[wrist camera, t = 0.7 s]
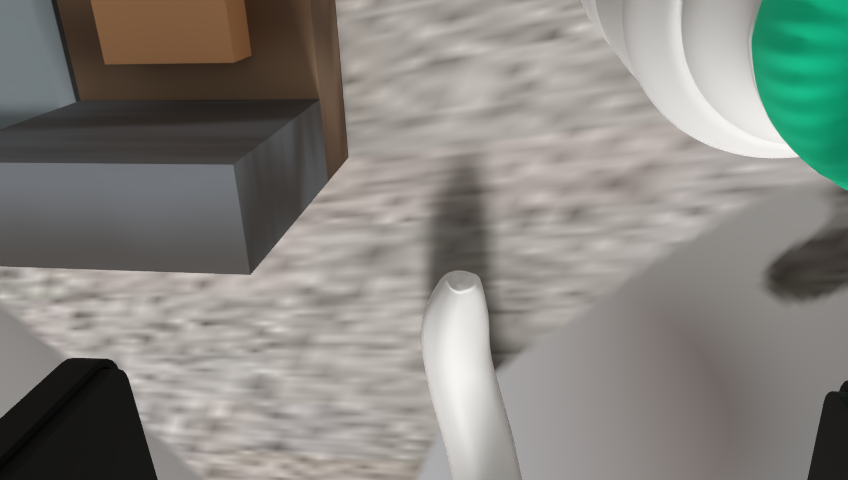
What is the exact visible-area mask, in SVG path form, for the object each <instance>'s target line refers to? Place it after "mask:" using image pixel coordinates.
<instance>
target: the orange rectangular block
mask: <svg viewBox="0 0 848 480" xmlns="http://www.w3.org/2000/svg"><path fill="white" fill-rule="evenodd" d="M91 4H92V9H93V13H94V18H95V22H96V27H97V31H98V36H99V40H100V45H101V49H102V54H103V58H104V63H105V65H107V64H177V63H235V62H237V61H239V60H242V59H244V58H247V57H249V56H252V54H251V47H250V39H249V32H248V24H247V17H246V10H245V2H244V0H91Z"/></svg>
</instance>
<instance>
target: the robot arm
mask: <svg viewBox="0 0 848 480" xmlns="http://www.w3.org/2000/svg"><path fill="white" fill-rule="evenodd" d="M0 480H157V476H156V473H155V469H154V466H153V462H152V459H151V455H150V452H149V448H148V445H147V442H146V438H145V435H144V431H143V428H142V424H141V421H140V417H139V414H138V410H137V407H136V404H135V400H134V397H133V393H132V390H131V386H130V383H129V379H128V377H127V375H126V373H125V372H124V371H123V370H120V369H118V367H117V365H116V364H115V363H114V362H113V361H112V360H109V359H94V358H71V359H67V360H65V361H64V362H62V363H61V364H60V365H59V366H58V367H57V368H55V369H54V370H53V371H52V372H51V373H50V374H49V375H48V376H47V377H46V378H44V379H43V380H42V381H41V382H40V383H39V384H38V385H37V386H36V387H35V388H33V389H32V390H31V391H30V392H29V393H28V394H27V395H26V396H25V397H24V398H22V399H21V400H20V401H19V402H18V403H17V404H16V405H15V406H14V407H12V408H11V409H10V410H9V411H8V412H7V413H6V414H5V415H4V416H3V417H1V418H0ZM807 480H848V381H845V382H844V383H843V385H842V386H841V388H840V391H839V392H835V391H834V392H833V391H832V392H829V393H828V394H827V395H826V397H825V400H824V404H823V409H822V413H821V418H820V423H819V427H818V432H817V437H816V442H815V446H814V451H813V456H812V461H811V466H810V470H809V475H808V479H807Z"/></svg>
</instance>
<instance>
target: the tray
mask: <svg viewBox="0 0 848 480" xmlns="http://www.w3.org/2000/svg"><path fill="white" fill-rule="evenodd" d="M78 101H81V99H80V95H79V91H78V87H77V83H76V78H75V74H74V70H73V66H72V62H71V58H70V54H69V49H68V45H67V41H66V37H65V33H64V29H63V24H62V20H61V16H60V12H59V8H58V4H57V0H0V129H2V128H5V127H8V126H11V125H14V124H16V123H19V122H22V121H25V120H28V119H30V118H33V117H36V116H39V115H42V114H44V113H47V112H50V111H53V110H56V109H58V108H61V107H64V106H67V105H70V104H72V103H75V102H78Z"/></svg>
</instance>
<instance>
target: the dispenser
mask: <svg viewBox="0 0 848 480" xmlns="http://www.w3.org/2000/svg"><path fill="white" fill-rule="evenodd" d="M244 2H245V10H246V17H247V24H248V32H249V39H250V47H251V54H252V56H249V57H247V58H244V59H242V60H239V61H237V62H235V63H177V64H107V65H105V63H104V58H103V54H102V49H101V45H100V40H99V36H98V31H97V27H96V22H95V18H94V13H93V9H92V4H91V0H57V4H58V8H59V12H60V16H61V20H62V24H63V29H64V33H65V37H66V41H67V45H68V49H69V54H70V58H71V62H72V66H73V70H74V74H75V78H76V83H77V87H78V91H79V95H80V99H81V101H78V102H75V103H72V104H70V105H67V106H64V107H61V108H58V109H56V110H53V111H50V112H47V113H44V114H42V115H39V116H36V117H33V118H30V119H28V120H25V121H22V122H19V123H16V124H14V125H11V126H8V127H5V128H2V129H0V266H7V267H37V268H67V269H96V270H126V271H156V272H185V273H215V274H245V275H251V273H252V272H253V271H254V270H255V269H256V267H257V266H258V265H259V264H260V263H261V261H262V260H263V259H264V258H265V257H266V255H267V254H268V253H269V252H270V251H271V249H272V248H273V247H274V246H275V245H276V243H277V242H278V241H279V240H280V239H281V237H282V236H283V235H284V234H285V233H286V231H287V230H288V229H289V228H290V227H291V225H292V224H293V223H294V222H295V221H296V219H297V218H298V217H299V216H300V215H301V213H302V212H303V211H304V210H305V209H306V207H307V206H308V205H309V204H310V203H311V202H312V200H313V199H314V198H315V197H316V196H317V194H318V193H319V192H320V191H321V190H322V188H323V187H324V186H325V185H326V184H327V182H328V181H329V180H330V179H331V178H332V176H333V175H334V174H335V173H336V172H337V170H338V169H339V168H340V167H341V166H342V164H343V163H344V162H345V161H346V160H347V158H348V149H347V137H346V126H345V114H344V102H343V90H342V78H341V66H340V54H339V43H338V31H337V19H336V7H335V0H244Z"/></svg>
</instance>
